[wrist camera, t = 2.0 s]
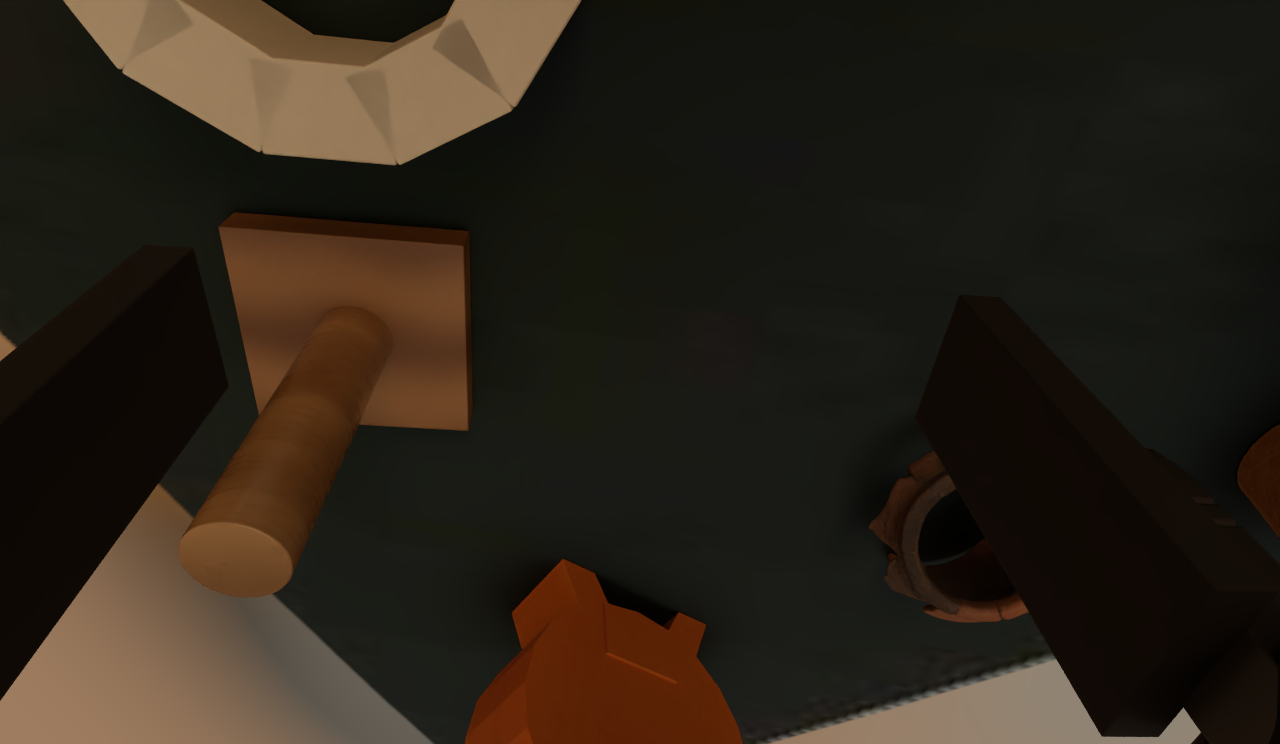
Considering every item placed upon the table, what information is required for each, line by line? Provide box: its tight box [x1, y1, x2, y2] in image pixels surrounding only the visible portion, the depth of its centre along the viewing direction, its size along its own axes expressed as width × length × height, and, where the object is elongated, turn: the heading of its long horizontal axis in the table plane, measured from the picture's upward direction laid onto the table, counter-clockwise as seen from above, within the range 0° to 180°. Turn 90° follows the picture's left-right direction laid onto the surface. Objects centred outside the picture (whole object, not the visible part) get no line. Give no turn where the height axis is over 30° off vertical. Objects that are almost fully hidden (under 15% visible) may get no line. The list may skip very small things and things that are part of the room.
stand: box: [178, 212, 473, 597], centre depth 26 cm, size 9×9×14 cm
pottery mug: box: [868, 450, 1028, 622], centre depth 37 cm, size 12×10×8 cm
